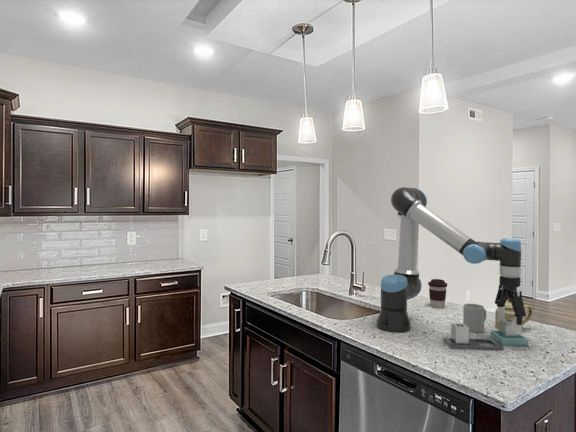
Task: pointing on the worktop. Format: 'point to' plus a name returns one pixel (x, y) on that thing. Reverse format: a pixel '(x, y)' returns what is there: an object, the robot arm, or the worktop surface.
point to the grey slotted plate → (475, 344)
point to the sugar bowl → (512, 314)
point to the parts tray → (509, 339)
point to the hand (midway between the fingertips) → (508, 327)
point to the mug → (474, 317)
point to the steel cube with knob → (507, 328)
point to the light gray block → (459, 334)
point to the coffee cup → (437, 293)
